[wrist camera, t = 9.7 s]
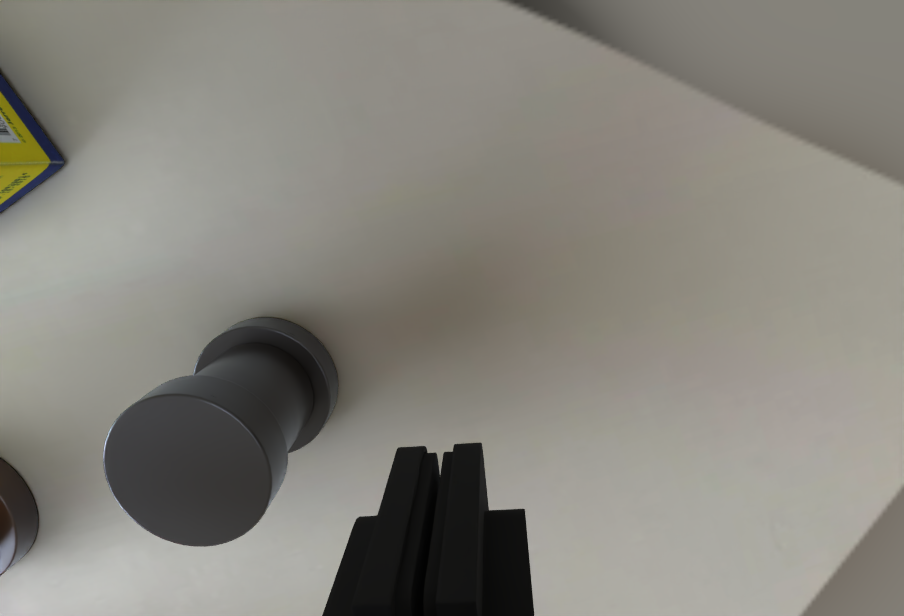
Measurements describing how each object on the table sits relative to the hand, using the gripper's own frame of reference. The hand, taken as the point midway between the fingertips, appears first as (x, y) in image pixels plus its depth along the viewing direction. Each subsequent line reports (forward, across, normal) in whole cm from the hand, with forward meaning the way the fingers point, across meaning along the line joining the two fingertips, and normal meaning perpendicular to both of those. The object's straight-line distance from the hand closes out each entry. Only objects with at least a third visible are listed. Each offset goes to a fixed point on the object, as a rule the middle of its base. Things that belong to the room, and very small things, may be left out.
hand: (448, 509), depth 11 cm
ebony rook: (+10, +8, +1) cm, 13 cm away
